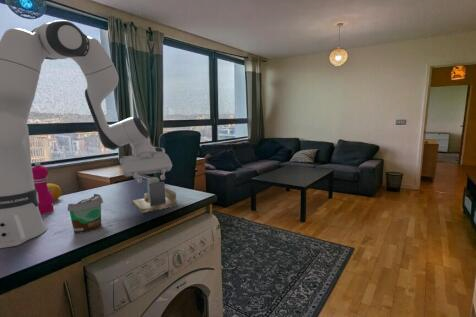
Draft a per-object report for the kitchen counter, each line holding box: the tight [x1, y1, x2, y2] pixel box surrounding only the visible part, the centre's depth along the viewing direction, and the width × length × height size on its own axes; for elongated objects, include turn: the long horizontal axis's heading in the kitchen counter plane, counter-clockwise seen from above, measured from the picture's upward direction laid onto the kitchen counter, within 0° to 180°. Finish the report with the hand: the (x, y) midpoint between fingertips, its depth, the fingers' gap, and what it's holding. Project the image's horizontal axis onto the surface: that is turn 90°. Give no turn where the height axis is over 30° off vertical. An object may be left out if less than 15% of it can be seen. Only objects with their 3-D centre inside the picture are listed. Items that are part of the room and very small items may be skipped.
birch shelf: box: [132, 186, 177, 214], centre depth 113 cm, size 14×14×6 cm
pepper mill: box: [32, 161, 55, 215], centre depth 106 cm, size 7×7×20 cm
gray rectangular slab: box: [149, 180, 166, 206], centre depth 108 cm, size 6×1×9 cm, turn 124°
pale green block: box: [146, 176, 160, 202], centre depth 111 cm, size 4×5×10 cm
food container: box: [67, 193, 104, 234], centre depth 90 cm, size 12×6×10 cm, turn 168°
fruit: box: [47, 182, 62, 202], centre depth 120 cm, size 9×8×8 cm
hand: (152, 180), depth 112 cm, fingers open, 8 cm apart
